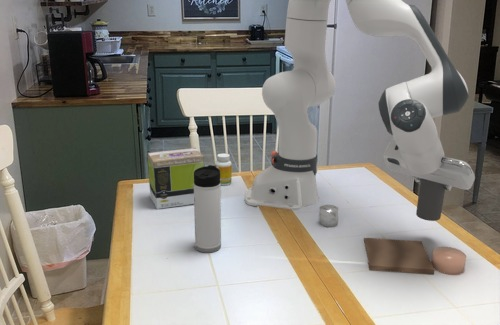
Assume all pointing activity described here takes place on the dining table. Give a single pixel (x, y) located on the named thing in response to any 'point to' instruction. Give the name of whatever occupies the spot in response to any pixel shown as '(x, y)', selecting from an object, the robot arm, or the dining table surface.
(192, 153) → the tea box
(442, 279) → the dining table surface
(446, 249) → the peach dome knob
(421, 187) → the bottle
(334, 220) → the tin
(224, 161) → the supplement bottle
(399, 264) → the board
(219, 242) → the travel mug
